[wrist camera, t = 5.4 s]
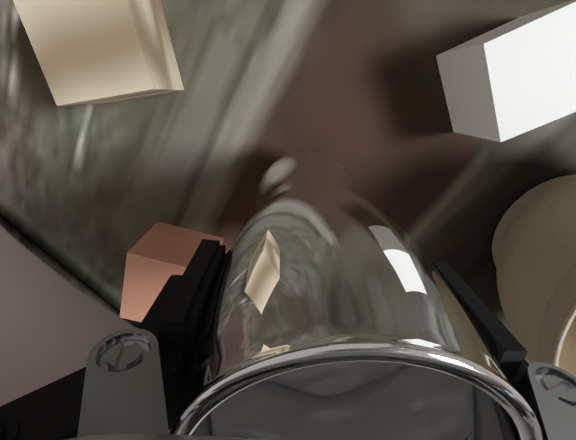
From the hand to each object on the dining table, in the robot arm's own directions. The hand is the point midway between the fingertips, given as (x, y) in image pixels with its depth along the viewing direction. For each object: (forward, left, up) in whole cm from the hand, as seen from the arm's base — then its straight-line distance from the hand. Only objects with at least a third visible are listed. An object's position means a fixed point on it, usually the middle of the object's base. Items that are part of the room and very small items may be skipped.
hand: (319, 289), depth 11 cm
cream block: (-8, +11, -13) cm, 19 cm away
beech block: (-7, -11, -13) cm, 18 cm away
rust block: (+7, -8, -13) cm, 16 cm away
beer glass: (0, 0, -9) cm, 9 cm away
